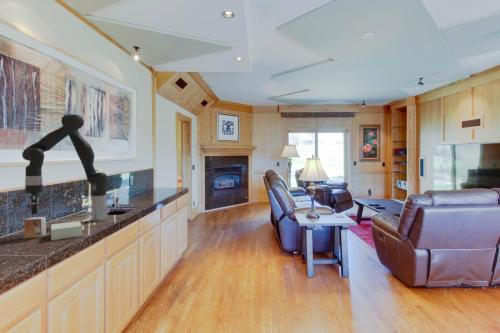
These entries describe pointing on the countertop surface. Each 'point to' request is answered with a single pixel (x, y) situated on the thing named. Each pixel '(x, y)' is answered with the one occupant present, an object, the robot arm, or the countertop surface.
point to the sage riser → (66, 230)
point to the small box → (35, 227)
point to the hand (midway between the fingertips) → (34, 213)
